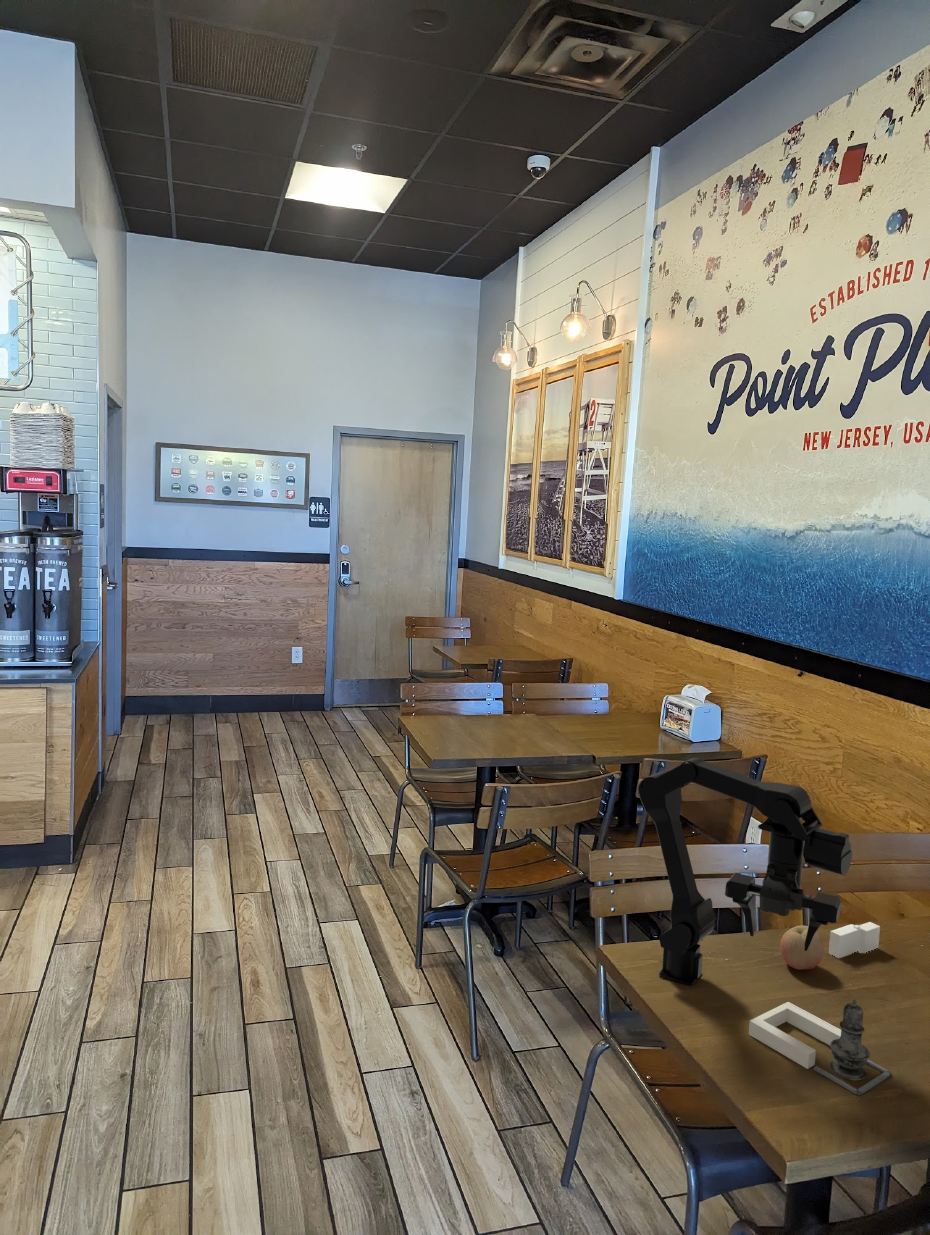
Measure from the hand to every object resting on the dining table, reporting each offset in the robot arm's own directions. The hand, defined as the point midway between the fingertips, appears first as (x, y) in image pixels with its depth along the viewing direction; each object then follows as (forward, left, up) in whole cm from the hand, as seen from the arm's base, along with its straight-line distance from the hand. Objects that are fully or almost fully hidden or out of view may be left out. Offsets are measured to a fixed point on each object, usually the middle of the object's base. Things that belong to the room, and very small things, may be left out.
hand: (778, 942), depth 154 cm
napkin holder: (+10, +34, -14) cm, 38 cm away
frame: (+15, -11, -13) cm, 22 cm away
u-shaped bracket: (+5, -7, -13) cm, 16 cm away
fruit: (+1, +20, -13) cm, 24 cm away
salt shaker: (+14, -11, -13) cm, 22 cm away
